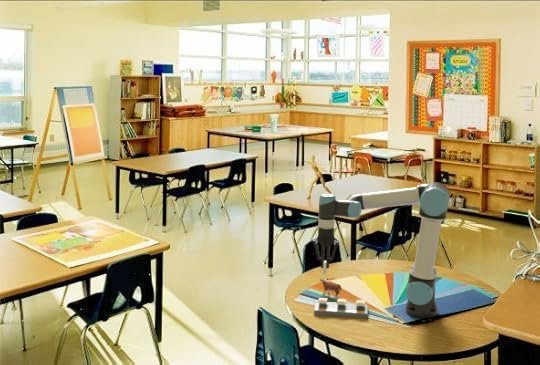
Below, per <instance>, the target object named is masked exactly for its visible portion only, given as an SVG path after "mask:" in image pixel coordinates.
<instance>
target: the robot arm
mask: <svg viewBox="0 0 540 365" xmlns="http://www.w3.org/2000/svg"><path fill="white" fill-rule="evenodd" d="M450 198H451V192H450V190H449V188H448V187H447V185H446V184H444V183H442V182H436V181H435V182H428V183H424V184H418V185H417V186H416V187H409V188H400V189H393V190H385V191H378V192H377V191H376V192H375V191H374V192H368V193H361V194H359V193H352V194H350V195H349V196H348V197H347V198H345V200H344V199H343V200H342V199H337V198H336V195H335V194H331V193H322V194H321V195H320V196H319V198H318V199H319V201H318V225H317V227H318V229H317V237H316V238H315V239H313V240H312V241H311V242H312V244H313V246H314V251H315V255H316V260H317V261H320V268H321V269H322V276H327V272H328V269H330V262H333V261H334V257H335V254H336V250H337V248H338V246H339V245H340V241H339V240H337V239H336V238H335V223H336V222H335V218H336V217H343V218H345V217H346V218H351V219H355V218H356V219H358V218H360V217H361V214H362V211H363V210H372V209H382V208H388V207H389V208H390V207H391V208H392V207H398V206H408V205H409V206H410V205H419V210H418V216H419V217H420V218H421V221H420V227H419V232H418V238H417V239H418V240H417V244H416V245H417V246H416V252H415V257H414V258H415V259H414V264H412V265H411V267H410V271H409V272H408V274H409V275H408V279H407V285H406V287H405V295H406V297H407V301H406V303H405V310H406V311H405V312H406V314H408V313H409V314H408V315H410V314H411V315H410V316H412V315H413V316H412V317H415V316H417V317H416V318H420V317H430V318H434V317H436V316H438V313H439V307H438V303H437V301H436V300H437V299H436V283H437V282H436V281H437V278H436V277H437V268H436V267H435V262H436V257H437V256H436V255H437V251H438V246H439V238H440V234H441V233H440V232H441V228H442V222H444V221H445V220H446V219H447V213H448V208H449V204H450V202H449V201H450ZM318 243H319V245H320V248H321V251H319V250H320V249H319V245H318ZM332 244H333V245H334V246H333V250H332V254H331V253H330V252H331V246H332ZM325 248H326V257H325ZM330 255H331V256H330ZM325 258H326V259H325ZM433 316H434V317H433Z"/></svg>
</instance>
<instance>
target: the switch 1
mask: <svg viewBox="0 0 540 365" xmlns="http://www.w3.org/2000/svg"><path fill="white" fill-rule="evenodd" d="M328 299H329V298H328V297H319V298H318V300H317V301H318V303H323V304H326V303H327V302H329V301H328Z"/></svg>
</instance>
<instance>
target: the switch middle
mask: <svg viewBox="0 0 540 365" xmlns="http://www.w3.org/2000/svg"><path fill="white" fill-rule="evenodd" d="M336 302H337V304H338V305H345V304H346V303H347V299H346V298H337V301H336Z"/></svg>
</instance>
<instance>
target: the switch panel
mask: <svg viewBox="0 0 540 365" xmlns="http://www.w3.org/2000/svg"><path fill="white" fill-rule="evenodd" d="M368 304H369V303H368ZM368 304H367V303H365V306H356V303H352V302H351V303H347V302H346V304H345V305H338V304H337V301H336V302H335V301H334V302H333V301H332V302H331V301H327V303H326V304H323V303H318V300H317V301H316V302H315V306H314V309H313V315H314V316H315V315H317V316H327V317H329V316H330V317H331V316H332V317H344V318H358V319H359V318H360V319H368V313H369V312H368V310H369V309H368V308H369V305H368Z"/></svg>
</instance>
